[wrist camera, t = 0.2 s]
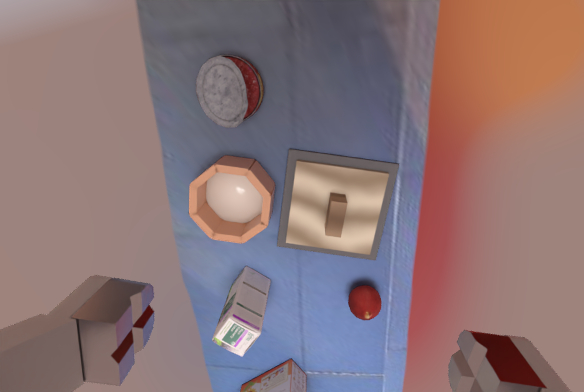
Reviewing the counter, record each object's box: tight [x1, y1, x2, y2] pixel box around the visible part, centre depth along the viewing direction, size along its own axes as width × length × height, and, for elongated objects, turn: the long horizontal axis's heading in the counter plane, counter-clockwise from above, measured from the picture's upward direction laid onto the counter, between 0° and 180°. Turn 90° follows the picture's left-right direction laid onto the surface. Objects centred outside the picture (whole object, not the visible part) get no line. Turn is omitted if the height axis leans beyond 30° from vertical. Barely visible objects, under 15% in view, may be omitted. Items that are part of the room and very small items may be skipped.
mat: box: [277, 149, 399, 260], centre depth 58 cm, size 18×18×1 cm
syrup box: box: [212, 266, 271, 357], centre depth 58 cm, size 6×6×14 cm
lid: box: [286, 160, 389, 255], centre depth 56 cm, size 15×15×5 cm
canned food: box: [196, 55, 264, 128], centre depth 50 cm, size 11×10×10 cm
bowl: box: [189, 155, 275, 243], centre depth 56 cm, size 13×13×6 cm
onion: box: [348, 285, 381, 320], centre depth 60 cm, size 6×6×8 cm
